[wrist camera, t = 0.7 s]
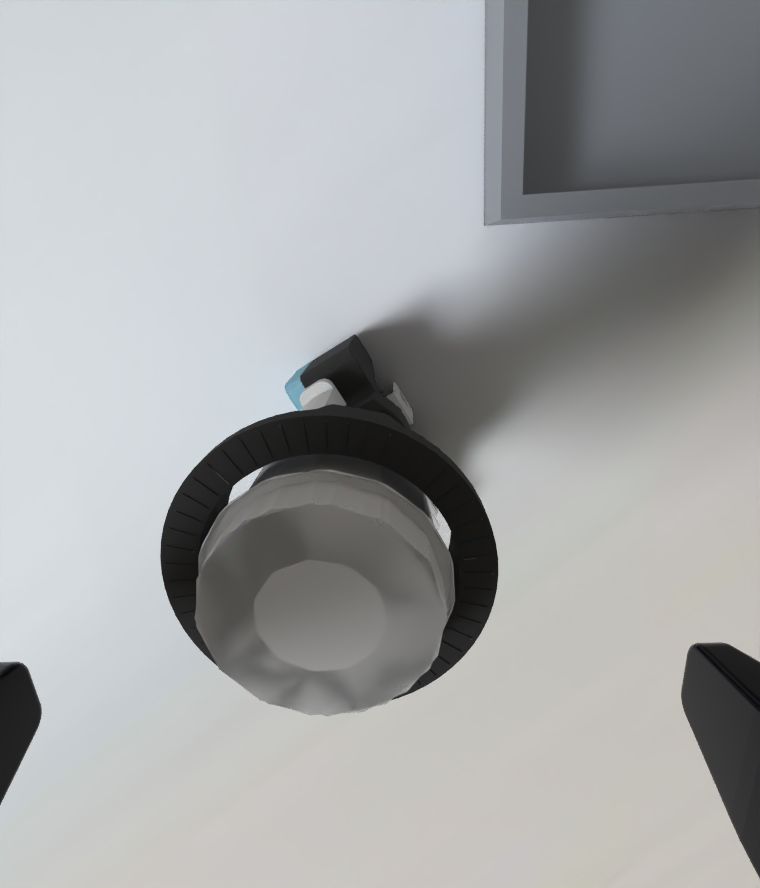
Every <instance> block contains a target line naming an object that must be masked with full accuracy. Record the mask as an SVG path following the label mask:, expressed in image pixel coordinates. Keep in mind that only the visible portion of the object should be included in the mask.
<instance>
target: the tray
mask: <svg viewBox="0 0 760 888" xmlns="http://www.w3.org/2000/svg"><path fill="white" fill-rule="evenodd" d="M748 208H760V0H485V149H484V226H487V225H502V224H517V223H533V222H548V221H564V220H579V219H594V218H610V217H625V216H641V215H656V214H671V213H687V212H702V211H717V210H733V209H748Z"/></svg>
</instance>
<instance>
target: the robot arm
mask: <svg viewBox="0 0 760 888" xmlns="http://www.w3.org/2000/svg"><path fill="white" fill-rule="evenodd" d="M681 698H682V705H683V708H684V712H685V714H686V717H687V719H688V721H689V724H690V726H691V728H692V731H693V733H694V735H695V738H696V740H697V742H698V745H699V747H700V749H701V752H702V754H703V756H704V759H705V761H706V763H707V766H708V768H709V770H710V773H711V775H712V777H713V780H714V782H715V784H716V787H717V789H718V791H719V794H720V796H721V798H722V801H723V803H724V805H725V808H726V810H727V812H728V815H729V817H730V819H731V822H732V824H733V826H734V828H735V830H736V833H737V835H738V837H739V839H740V841H741V843H742V845H743V847H744V849H745V851H746V853H747V855H748V857H749V859H750V861H751V863H752V865H753V867H754V868H755V870H756V872H757V874H758V876H759V878H760V662H759V661H757V660H755V659H754V658H752V657H750V656H748V655H747V654H745V653H743V652H741V651H740V650H738V649H736V648H734V647H733V646H731V645H729V644H726V643H696V644H694V645H692V646H691V647H690V648H689V650H688V654H687V660H686V666H685V672H684V678H683V684H682V691H681ZM41 714H42V710H41V704H40V701H39V698H38V695H37V693H36V690H35V687H34V684H33V681H32V678H31V676H30V673H29V670H28V668H27V667H26V666H25V665H24V664H23V663H20V662H0V805H1V802H2V800H3V798H4V796H5V794H6V792H7V790H8V788H9V786H10V784H11V782H12V780H13V778H14V776H15V774H16V772H17V770H18V768H19V766H20V763H21V761H22V759H23V757H24V755H25V753H26V751H27V749H28V747H29V745H30V743H31V741H32V739H33V737H34V735H35V733H36V731H37V729H38V726H39V723H40V720H41Z"/></svg>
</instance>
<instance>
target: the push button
mask: <svg viewBox="0 0 760 888" xmlns="http://www.w3.org/2000/svg"><path fill="white" fill-rule="evenodd" d="M285 390H286V393H287V394H288V396H289V398H290V399H291V401H292V402H293V404H294V405H295V407H296V408H297V410H298V411H294V412H289V413H284V414H280V415H276V416H273V417H270V418H267V419H264V420H261V421H258V422H256V423H254V424H251V425H249V426H247V427H245V428H243V429H241V430H239V431H238V432H236V433H234V434H233V435H231V436H229V437H228V438H226V439H225V440H224V441H223V442H221V443H220V444H219V445H217V446H216V447H215V448H214V449H213V450H212V451H211V452H210V453H209V454H208V455H206V456H205V457H204V458H203V459H202V460H201V462H200V463H199V464H198V465H197V466H196V467H195V468H194V469H193V470H192V471H191V473H190V474H189V475H188V476H187V478H186V479H185V480H184V482H183V483H182V485H181V486H180V488H179V490H178V491H177V493H176V495H175V497H174V499H173V501H172V503H171V506H170V508H169V510H168V513H167V516H166V520H165V523H164V527H163V533H162V539H161V569H162V576H163V581H164V586H165V589H166V592H167V595H168V598H169V601H170V604H171V606H172V608H173V610H174V613H175V615H176V617H177V619H178V620H179V622H180V624H181V625H182V627H183V629H184V630H185V632H186V633H187V634H188V636H189V637H190V638H191V640H192V641H193V642H194V643H195V645H196V646H197V647H198V648H199V649H200V650H201V651H202V652H203V653H204V654H205V655H206V656H207V657H208V658H209V659H210V660H211V661H212V662H213V663H215V664H216V665H217V666H218V668H219V669H220V670H221V671H222V672H224V673H225V674H226V675H228V676H229V677H230V678H232V679H233V680H234V681H236V682H237V683H238V684H239V685H241V686H242V687H243V688H245V689H246V690H247V691H249V692H250V693H251V694H253V695H254V696H255V697H257V698H258V699H259V700H261V701H265V702H266V703H267V704H271V705H276V706H281V707H285V708H288V709H292V710H295V711H298V712H302V713H305V714H308V715H319V714H320V715H325V716H330V715H335V714H340V713H355V712H363V711H366V710H368V709H370V708H372V707H374V706H378V705H383V704H387V703H388V702H389V701H390V700H393V699H396V698H400V697H402V696H405V695H407V694H410V693H412V692H414V691H416V690H418V689H420V688H422V687H424V686H426V685H428V684H430V683H431V682H433V681H434V680H436V679H437V678H439V677H440V676H442V675H443V674H444V673H446V672H447V671H448V670H449V669H451V668H452V667H453V666H454V665H455V664H456V663H457V662H458V661H459V660H460V659H461V658H462V657H463V656H464V655H465V654H466V653H467V651H468V650H469V649H470V648H471V647H472V645H473V644H474V643H475V641H476V640H477V638H478V636H479V635H480V633H481V632H482V630H483V628H484V626H485V624H486V622H487V620H488V618H489V615H490V612H491V609H492V606H493V603H494V599H495V595H496V590H497V581H498V556H497V549H496V542H495V539H494V535H493V531H492V528H491V525H490V522H489V519H488V516H487V514H486V511H485V509H484V507H483V504H482V502H481V500H480V498H479V496H478V494H477V493H476V491H475V489H474V487H473V486H472V484H471V483H470V482H469V480H468V479H467V477H466V476H465V475H464V473H463V472H462V471H461V470H460V469H459V468H458V467H457V465H456V464H455V463H454V462H453V461H452V460H451V459H450V458H449V457H448V456H447V455H445V454H444V453H443V452H442V451H441V450H440V449H439V448H437V447H436V446H435V445H433V444H432V443H430V442H429V441H427V440H426V439H425V438H423V437H422V436H420V435H418V434H416V433H414V432H413V431H411V428H410V425H412V424H413V423H414V422H413V411H412V409H411V407H410V405H409V403H408V402H407V400H406V398H405V397H404V395H403V394H402V392H401V390H400V389H399V387H398V385H397V384H396V383H395V382H393V383H392V391H393V392H392V393H391V394H389V395H387V396H386V397H385V396H383V395H382V394H381V392H380V390H379V388H378V386H377V384H376V382H375V377H374V371H373V365H372V360H371V358H370V356H369V354H368V353H367V351H366V350H365V348H364V346H363V345H362V343H361V341H360V340H359V339H358V337H357V336H356V335H353V336H352V337H350V338H348V339H347V340H345V341H344V342H342V343H340V344H339V345H337V346H336V347H334V348H332V349H331V350H329V351H328V352H326V353H324V354H323V355H321V356H320V357H318V358H316V359H315V360H313V361H312V362H310V363H309V364H307V365H305V366H304V367H302V368H301V369H299V370H297V371H296V373H295V374H294V375H293V376H292V378H291V379H290V380H289V381H288V382H287V383H286V384H285ZM261 467H263V469H262V470H261V472H260V473H259V475H258V476H257V478H256V479H255V481H254V483H253V484H252V486H251V487H250V489H249V490H248V491H247V492H245V493H244V494H242V495H240V496H239V497H237V498H236V499H234V500H233V501H231V502H230V503H229V504H228V501H229V496H230V493H231V490H232V487H233V486H234V485H235V484H236V483H237V482H238V481H240V480H241V479H242V478H244V477H245V476H247V475H249V474H250V473H252V472H253V471H255V470H257V469H259V468H261ZM430 500H431V501H432V502H433V503H434V505H435V506H436V507H437V508H438V509H439V511H440V512H441V514H442V515H443V517H444V518H445V520H446V522H447V523H448V526H449V528H450V530H451V538H450V545H449V549H447V547H446V545H445V543H444V542H443V540H442V538H441V536H440V535H439V533H438V531H437V530H438V529H439V527H440V525H439V523H438V522H437V520H436V518H435V516H437V513H438V512H437V510H436V509H435V507H434V505H433V504H432V502H431V501H430Z"/></svg>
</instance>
